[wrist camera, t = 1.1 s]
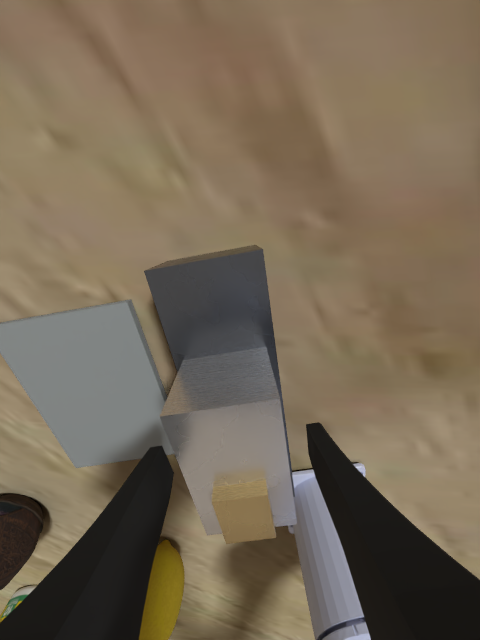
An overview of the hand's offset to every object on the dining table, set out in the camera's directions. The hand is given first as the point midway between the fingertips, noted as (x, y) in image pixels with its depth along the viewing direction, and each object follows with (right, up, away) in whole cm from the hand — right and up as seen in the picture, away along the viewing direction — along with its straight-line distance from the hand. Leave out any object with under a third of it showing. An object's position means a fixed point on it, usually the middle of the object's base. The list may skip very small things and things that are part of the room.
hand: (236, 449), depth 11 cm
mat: (-11, +1, +7) cm, 13 cm away
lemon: (-8, -19, +15) cm, 25 cm away
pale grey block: (0, +1, +3) cm, 3 cm away
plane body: (0, +2, +6) cm, 7 cm away
